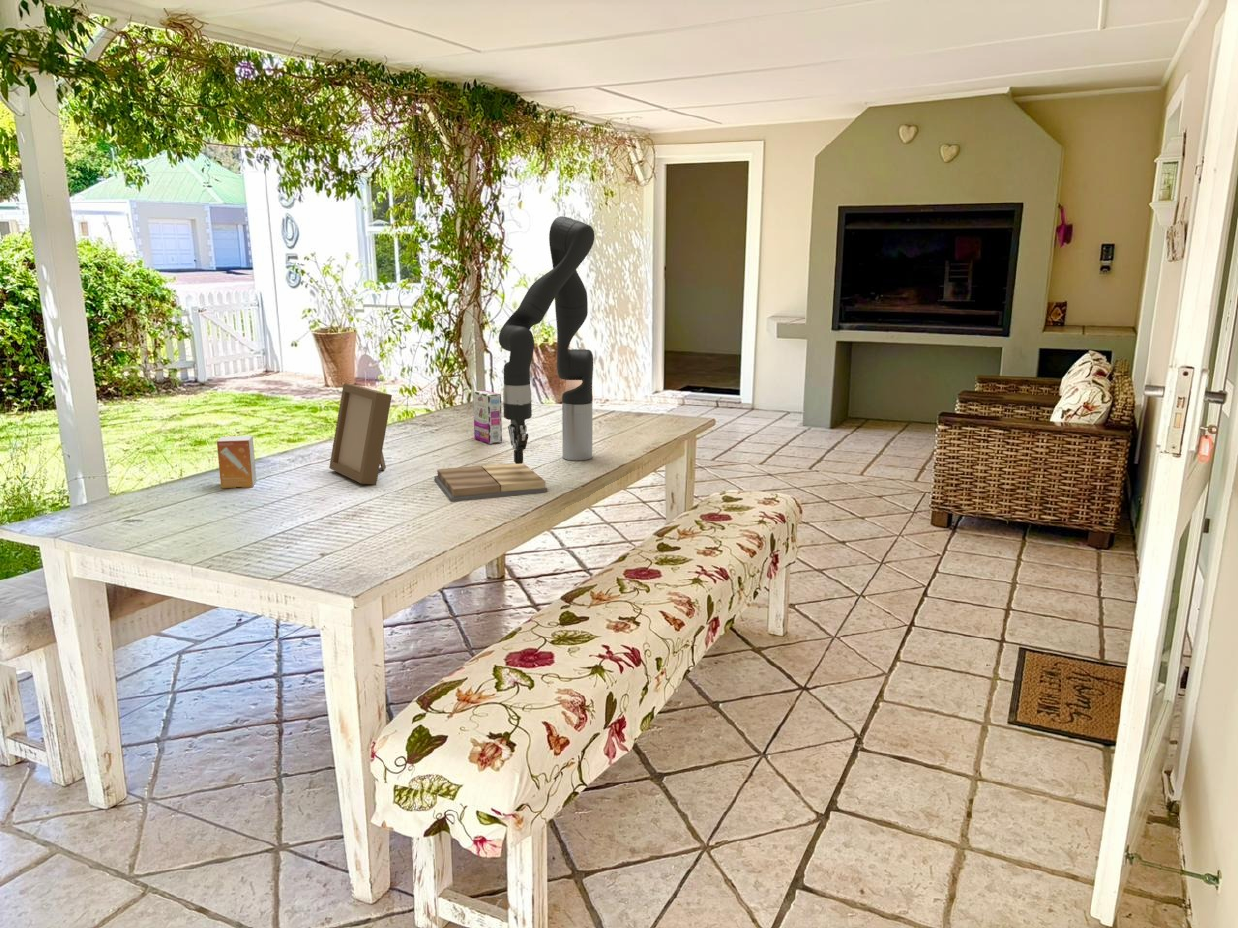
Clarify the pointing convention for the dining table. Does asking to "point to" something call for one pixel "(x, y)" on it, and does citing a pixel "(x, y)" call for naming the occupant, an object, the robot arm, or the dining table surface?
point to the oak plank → (514, 477)
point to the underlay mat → (480, 496)
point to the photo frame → (360, 433)
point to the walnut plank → (468, 481)
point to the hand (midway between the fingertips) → (518, 463)
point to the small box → (236, 461)
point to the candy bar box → (487, 417)
